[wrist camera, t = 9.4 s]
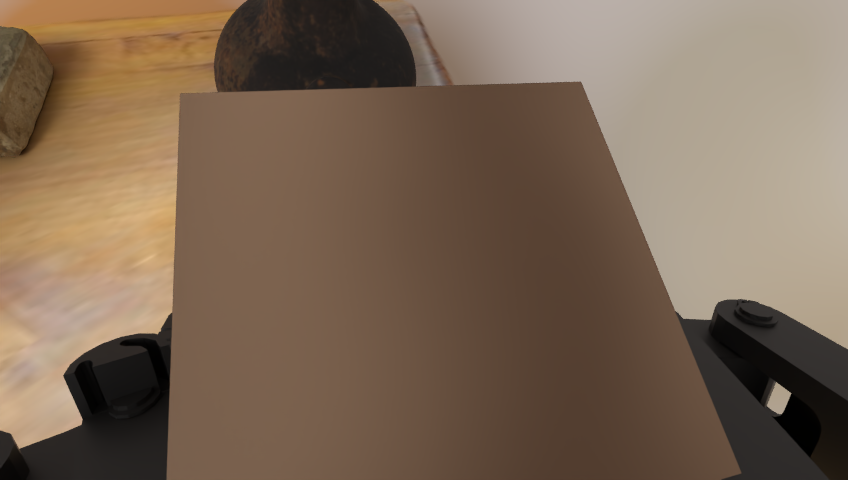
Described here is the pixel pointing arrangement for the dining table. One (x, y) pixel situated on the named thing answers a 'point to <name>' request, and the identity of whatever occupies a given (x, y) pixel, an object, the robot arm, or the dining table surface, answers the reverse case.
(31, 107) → the stone block
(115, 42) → the dining table surface
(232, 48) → the dark brown bulbous vessel
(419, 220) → the walnut block
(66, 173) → the dining table surface
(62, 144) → the dining table surface
